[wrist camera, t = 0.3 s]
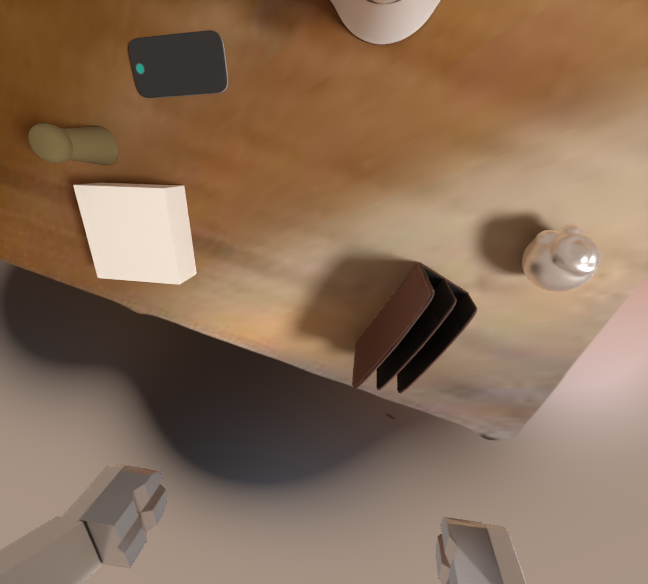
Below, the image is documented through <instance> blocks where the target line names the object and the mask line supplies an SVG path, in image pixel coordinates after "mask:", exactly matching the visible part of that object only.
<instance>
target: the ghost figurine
mask: <svg viewBox="0 0 648 584" xmlns="http://www.w3.org/2000/svg"><path fill="white" fill-rule="evenodd" d="M599 263H600V251H599V248H598V246H597V244H596V243H595V242H594V241H593V240H592V239H591V238H589V237H587V236H585V235H583V234H582V230H581V228H580V227H578V226H576V225H571V224H569V225H565V226H563V227H562V228H561V229H559V230H555V231H553V230H545V231H542V232H540V233H539V234H537V236H536V237H535V239H534V240H533V241H532V242H531V243H530V244H529V245H528V246H527V248H526V249H525V251H524V254H523V258H522V267H523V271H524V273H525V275H526V277H527V278H528V279H529V280H530V281H531V282H532V283H533V284H534V285H536V286H538V287H539V288H542V289H544V290H548V291H555V292H562V291H568V290H572V289H575V288H578V287H580V286H581V285H583V284H585V283H586V282H587V281H588V280H589V279H590V278H591V277H592V276H593V275H594V273H595V271H596V269H597V267H598V265H599Z"/></svg>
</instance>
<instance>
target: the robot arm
mask: <svg viewBox="0 0 648 584" xmlns="http://www.w3.org/2000/svg"><path fill="white" fill-rule="evenodd" d="M330 1H331V2H332V4H333V5H334V7H335V9H336V11H337V13H338V15H339V17H340V18H341V20H342V22H343V23H344V25H345V26H346V27H347V28H348V29H349V30H350V31H351V32H352V33H353V34H354V35H355V36H357V37H358V38H360V39H362V40H364V41H367V42H370V43H374V44H389V43H394V42H397V41H400V40H402V39H404V38H406V37H408V36H410V35H411V34H413V33H414V32H415V31H417V30H418V29H419V28H420V27H421V26H422V25H423V24H424V23H425V22H426V21H427V20H428V18H429V17H430V16H431V14H432V13H433V11H434V10H435V8H436V7H437V5H438V3H439V2H440V1H441V0H330ZM162 480H163V476H162V473H161V471H156V470H150V469H145V468H139V467H133V466H129V465H122V464H116V463H112V464H110V465H109V466H107V467H106V468H105V469H104V470H103V471H102V472H101V473H100V474H99V475H98V476H97V478H96V479H95V480H94V481H93V482H92V483H91V484H90V485H89V487H88V488H87V489H86V490H85V491H84V492H83V493H82V494H81V496H80V497H79V498H78V499H77V500H76V501H75V502H74V504H73V505H72V506H71V507H70V508H69V509H68V510H67V511H66V512H65V513H64V515H63V516H62V517H58V516H57V517H55V518H53V519H52V520H50V521H48V522H46V523H45V524H43V525H41V526H40V527H38V528H36V529H35V530H33V531H31V532H29V533H28V534H26V535H25V536H23V537H21V538H20V539H18V540H16V541H15V542H13V543H11V544H10V545H8V546H6V547H4V548H3V549H1V550H0V584H81V583H82V582H83V581H85V580H86V579H87V578H88V577H89V576H90V575H92V574H93V573H94V572H95V571H96V570H97V569H99V568H100V567H101V566H102V565H101V563H102V564H107V565H113V566H119V567H125V568H131V566H132V565H133V563H134V562H135V560H136V558H137V556H138V555H139V553H140V552H141V550H142V548H143V547H144V545H145V544H146V542H147V532H148V531H149V530H151V529H152V528H153V527H155V526H156V525H157V524H158V522H159V520H160V519H161V517H162V515H163V513H164V510H165V507H166V504H167V491H166V489H165V488H164V487H163V486H162V485H161V484H160V483H161V482H162ZM441 532H442V534H440V535H439V536H438V538H437V543H436V563H437V572H438V579H439V580H440V582H441V583H442V584H526V581H525V578H524V575H523V572H522V569H521V567H520V564H519V561H518V558H517V555H516V552H515V549H514V547H513V544H512V541H511V538H510V535H509V532H508V531H507V530H506V528H504V527H503V526H497V525H491V524H484V523H481V522H474V521H467V520H460V519H453V518H447V517H444V518H443V519H442V521H441Z"/></svg>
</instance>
